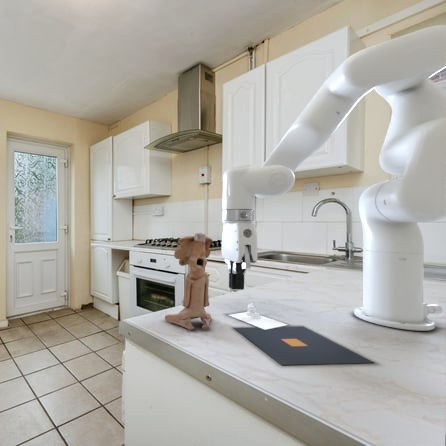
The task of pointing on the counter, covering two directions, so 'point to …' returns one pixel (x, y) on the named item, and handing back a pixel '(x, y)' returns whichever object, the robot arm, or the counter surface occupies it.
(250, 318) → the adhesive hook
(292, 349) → the centre mat
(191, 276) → the figurine
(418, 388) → the counter surface
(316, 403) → the counter surface
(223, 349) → the counter surface
